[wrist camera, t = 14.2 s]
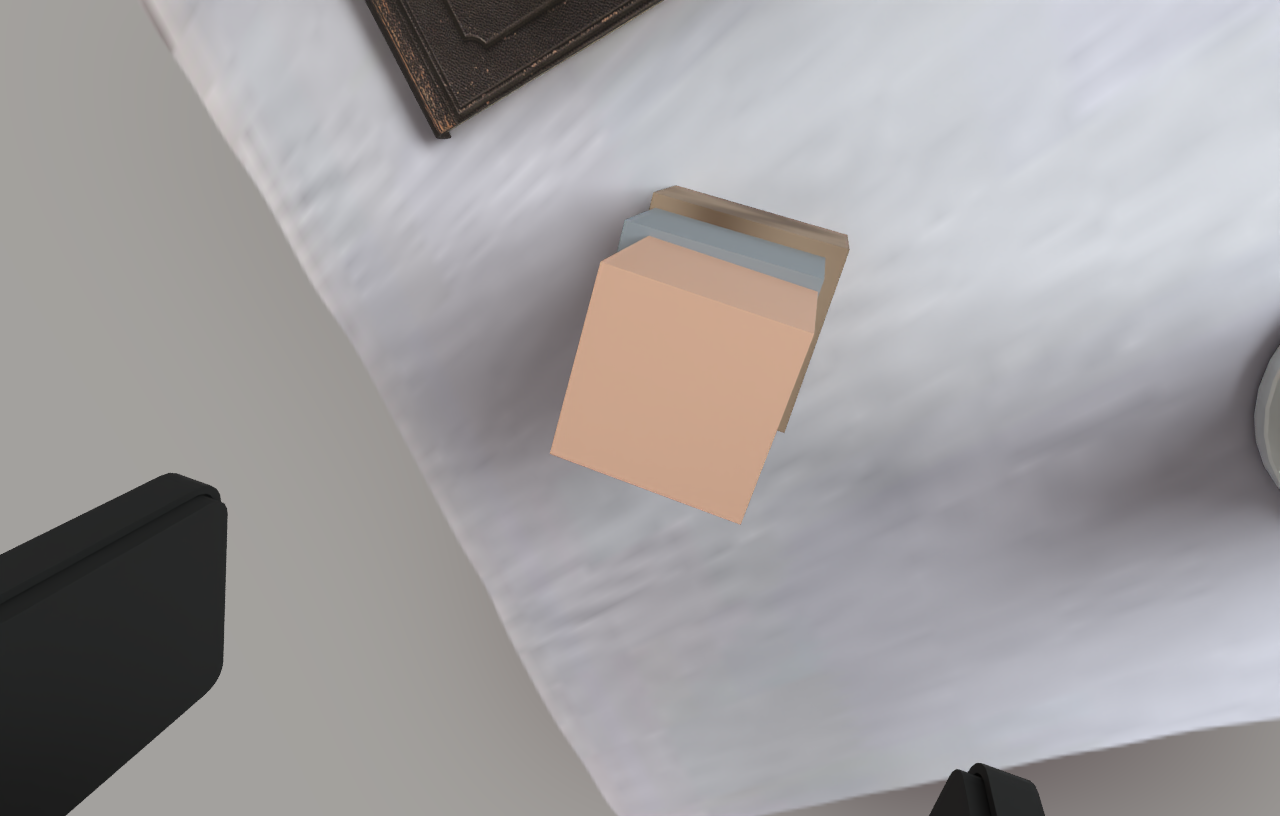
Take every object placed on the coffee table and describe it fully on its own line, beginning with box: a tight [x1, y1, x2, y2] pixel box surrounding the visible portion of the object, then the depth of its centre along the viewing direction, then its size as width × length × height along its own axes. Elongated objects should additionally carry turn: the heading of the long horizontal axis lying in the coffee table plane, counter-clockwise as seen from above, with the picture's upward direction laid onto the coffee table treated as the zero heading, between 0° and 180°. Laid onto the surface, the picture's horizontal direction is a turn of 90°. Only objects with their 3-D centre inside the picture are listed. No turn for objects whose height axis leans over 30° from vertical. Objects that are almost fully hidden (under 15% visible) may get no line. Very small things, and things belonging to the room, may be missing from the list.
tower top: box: [617, 208, 825, 299], centre depth 30 cm, size 7×7×5 cm
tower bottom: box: [649, 186, 850, 433], centre depth 34 cm, size 8×8×5 cm
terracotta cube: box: [550, 236, 818, 525], centre depth 24 cm, size 6×6×6 cm
